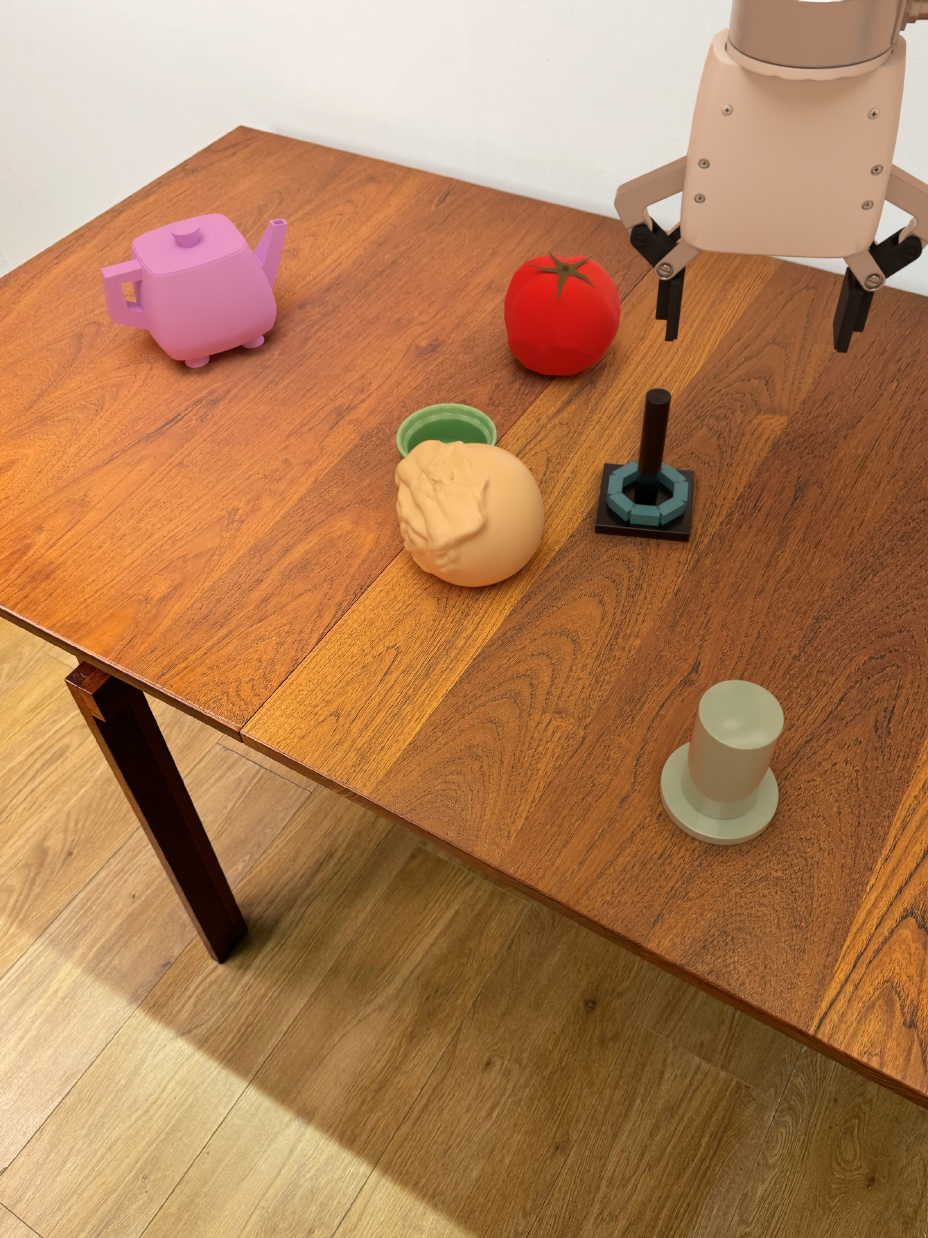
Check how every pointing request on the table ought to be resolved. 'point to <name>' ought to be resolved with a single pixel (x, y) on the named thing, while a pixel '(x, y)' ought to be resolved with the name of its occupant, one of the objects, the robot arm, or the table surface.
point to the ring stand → (726, 766)
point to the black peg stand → (647, 479)
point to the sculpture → (468, 511)
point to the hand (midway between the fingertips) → (754, 333)
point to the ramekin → (445, 427)
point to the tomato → (561, 314)
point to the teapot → (198, 286)
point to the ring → (644, 512)
